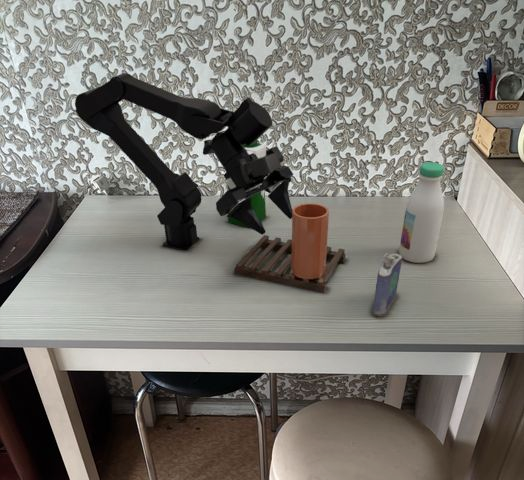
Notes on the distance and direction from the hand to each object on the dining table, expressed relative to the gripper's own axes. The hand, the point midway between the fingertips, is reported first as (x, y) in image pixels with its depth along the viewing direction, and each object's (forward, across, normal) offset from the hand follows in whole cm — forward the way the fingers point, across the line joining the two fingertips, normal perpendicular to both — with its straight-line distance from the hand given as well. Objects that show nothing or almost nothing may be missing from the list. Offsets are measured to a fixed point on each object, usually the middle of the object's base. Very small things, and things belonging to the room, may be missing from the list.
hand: (278, 225), depth 109 cm
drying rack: (+8, +2, +6) cm, 11 cm away
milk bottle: (+22, +24, -7) cm, 33 cm away
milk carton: (-8, +14, +23) cm, 28 cm away
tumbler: (+11, 0, 0) cm, 11 cm away
